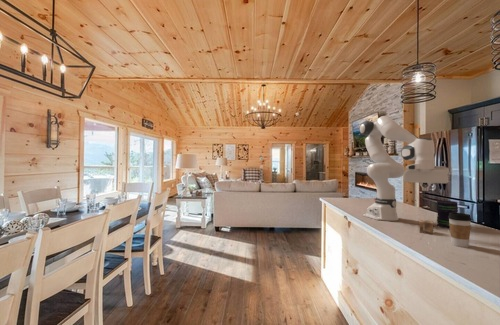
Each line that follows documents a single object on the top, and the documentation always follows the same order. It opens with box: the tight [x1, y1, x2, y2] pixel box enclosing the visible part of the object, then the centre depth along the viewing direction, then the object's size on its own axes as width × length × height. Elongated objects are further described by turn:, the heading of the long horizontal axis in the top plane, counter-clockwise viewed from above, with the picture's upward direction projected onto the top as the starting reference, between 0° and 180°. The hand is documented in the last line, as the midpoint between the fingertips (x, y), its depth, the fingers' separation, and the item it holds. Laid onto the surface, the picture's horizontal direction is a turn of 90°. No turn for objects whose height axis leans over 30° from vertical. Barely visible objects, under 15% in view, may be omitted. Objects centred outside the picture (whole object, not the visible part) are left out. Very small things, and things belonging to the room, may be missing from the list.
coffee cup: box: [448, 212, 472, 248], centre depth 112 cm, size 8×8×15 cm
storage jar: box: [436, 200, 459, 230], centre depth 143 cm, size 10×10×15 cm
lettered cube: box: [418, 219, 434, 235], centre depth 133 cm, size 6×6×6 cm
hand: (425, 190), depth 133 cm, fingers closed
